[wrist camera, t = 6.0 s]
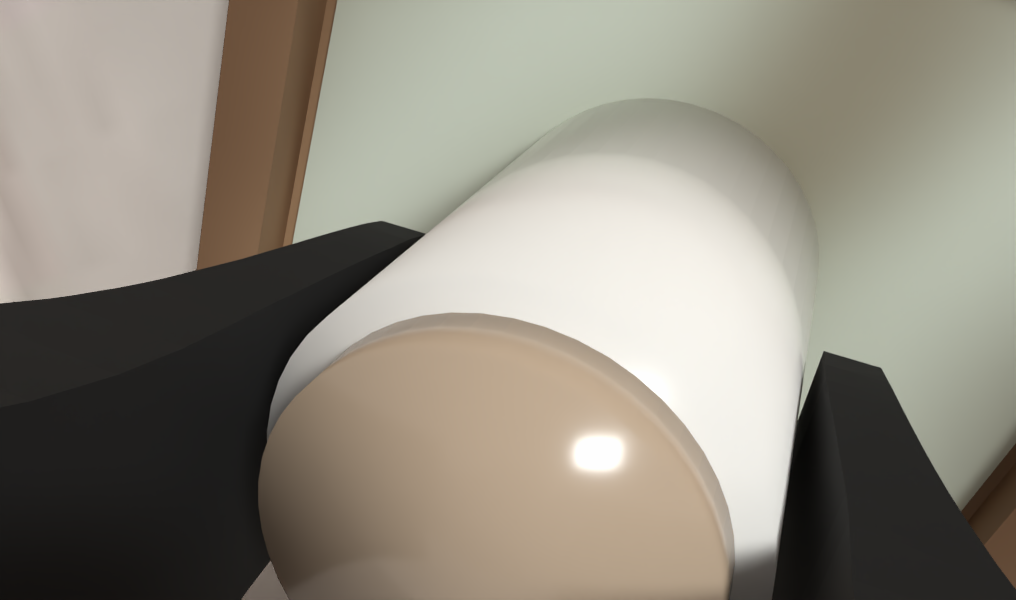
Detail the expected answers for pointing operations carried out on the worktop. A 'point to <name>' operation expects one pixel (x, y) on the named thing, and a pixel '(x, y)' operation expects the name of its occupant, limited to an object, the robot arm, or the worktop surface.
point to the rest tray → (695, 80)
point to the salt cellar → (561, 382)
